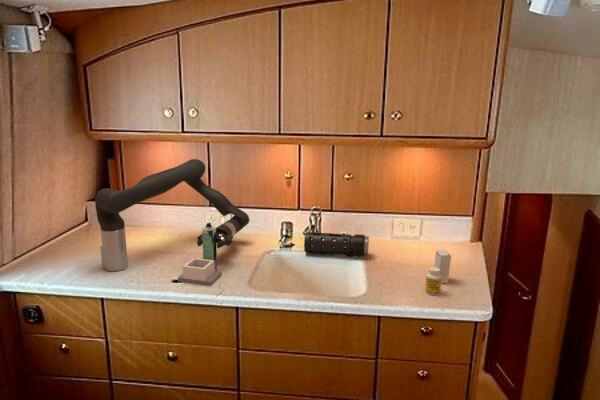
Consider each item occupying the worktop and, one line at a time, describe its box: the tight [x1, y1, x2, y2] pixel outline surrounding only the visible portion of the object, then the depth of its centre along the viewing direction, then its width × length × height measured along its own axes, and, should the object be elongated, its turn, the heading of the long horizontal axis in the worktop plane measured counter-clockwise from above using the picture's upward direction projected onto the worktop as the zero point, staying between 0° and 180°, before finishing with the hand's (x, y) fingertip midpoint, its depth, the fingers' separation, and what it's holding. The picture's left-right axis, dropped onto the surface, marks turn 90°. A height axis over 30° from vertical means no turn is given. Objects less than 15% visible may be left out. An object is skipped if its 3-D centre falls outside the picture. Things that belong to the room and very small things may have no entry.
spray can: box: [201, 222, 218, 271], centre depth 201 cm, size 6×6×20 cm
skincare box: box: [433, 249, 452, 284], centre depth 194 cm, size 6×4×12 cm
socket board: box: [177, 257, 223, 287], centre depth 194 cm, size 14×10×6 cm
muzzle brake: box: [303, 231, 370, 258], centre depth 219 cm, size 10×28×10 cm, turn 81°
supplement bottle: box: [424, 266, 442, 296], centre depth 184 cm, size 5×5×10 cm
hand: (208, 245), depth 200 cm, fingers open, 8 cm apart
